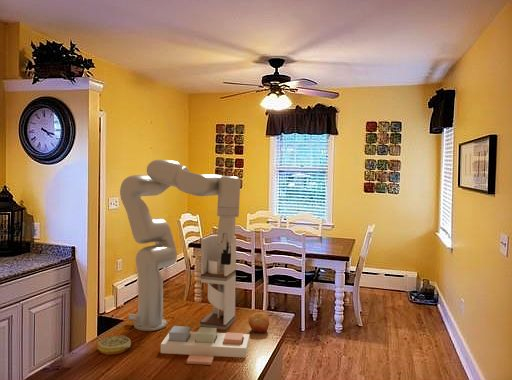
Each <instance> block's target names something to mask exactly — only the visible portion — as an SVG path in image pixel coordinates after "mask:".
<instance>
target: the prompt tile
mask: <svg viewBox="0 0 512 380" xmlns="http://www.w3.org/2000/svg"><path fill="white" fill-rule="evenodd" d="M214 359H215V356H212V355H193V354H190V355H188V358H187V359H186V364H187V365H190V364H191V365H208V366H209V365H210V366H211V365H212V363H213V362H214Z"/></svg>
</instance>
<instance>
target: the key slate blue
mask: <svg viewBox="0 0 512 380" xmlns="http://www.w3.org/2000/svg"><path fill="white" fill-rule="evenodd" d="M190 331H191V326H187V325H186V326H185V325H184V326H183V325H182V326H181V325H179V326H178V325H173V326H172V328H171V329H170V330H169V331H168V333H169V341H178V342H187V340H188V338H189V337H190Z"/></svg>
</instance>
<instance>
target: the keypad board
mask: <svg viewBox="0 0 512 380" xmlns="http://www.w3.org/2000/svg"><path fill="white" fill-rule="evenodd" d="M197 332H198V331H191V330H190V337H189V338H188V340H187V342H178V341H169V332H168V333H167V334H166V336H165V337H164V339H163V340H162V342H161V343H160V354H170V355H171V354H172V355H174V354H175V355H188V356H190V354H193V355H212V356H214V357H225V358H226V357H229V358H245V359H246V358H247V355H248V351H249V347H250V337H251V336H250V333H243V344H242V345H236V344H224V337H225V335H226V332H217V337H216V339H215V341H214V343H197V342H196V333H197Z"/></svg>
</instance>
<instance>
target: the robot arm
mask: <svg viewBox="0 0 512 380" xmlns="http://www.w3.org/2000/svg"><path fill="white" fill-rule="evenodd" d="M170 187H175V188H176V189H177V190H179V191H181V192H183V193H186V194H189V195H192V196H197V197H211V196H217V209H216V210H217V211H216V216H217V217H218V218H219V219H218V226H217V235H218V237H217V245H220V244H221V243H222V253H221V264H223V265H230V263H231V253H230V252H231V245H232V243H233V242H234V237H235V236H236V235H235V234H236V218H239V216H240V201H241V200H240V198H241V197H240V195H241V194H240V193H241V179H240V177H238V176H232V175H231V176H229V175H221V174H215V173H214V174H210V173H208V174H207V173H205V174H201V173H195V172H192V171H190V170H189V168H188V167H187V166H186V165H184V164H180V162H178V161H176V160H172V159H155V160H152V161H151V162H149V163H148V165H147V167H146V174H134V175H129V176H127V177H126V178H125V179H123V181H122V182H121V185H120V187H119V194H120V199H121V200H120V201H121V202H122V206H123V208H124V210H125V212H126V215H127V218H128V222H129V226H130V231H131V233H132V236H133V237H132V238H133V239H134V241H135V242H136V243H137V244H140V245H146V244H151V243H154V244H153V245H148V246H145V247H143V248H140V249H138V251H137V253H136V254H135V266H136V269H137V289H138V291H137V292H138V293H137V297H138V298H137V299H138V300H137V305H138V307H137V310H138V311H137V313H128V315H127V318H128V321H135V322H133V327H134V328H135V329H136V330H138V331H141V332H152V331H153V332H154V331H158V330H162V329H164V328H165V327H166V326H167V324H168V323H167V320H166V319H165V318H163V317H164V315H163V314H164V280H163V279H164V278H163V276H162V274H161V272H160V269H164V268H167V267H170V266H172V265H174V264H175V263H176V262H177V259H178V251H177V247H176V244H175V240H174V236H173V233H172V230H171V226H170V225H169V223H168V222H167V221H166V220H165V219H164V218H162V217H161V218H160V217H156V218H155V217H153V218H152V216H151V214H150V210H149V207H148V205H147V203H146V202H145V201H144V200H143V199H142V197H152V196H153V197H154V196H159V195H162V193H164V192H166V191H167V190H168V189H169V188H170Z"/></svg>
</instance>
